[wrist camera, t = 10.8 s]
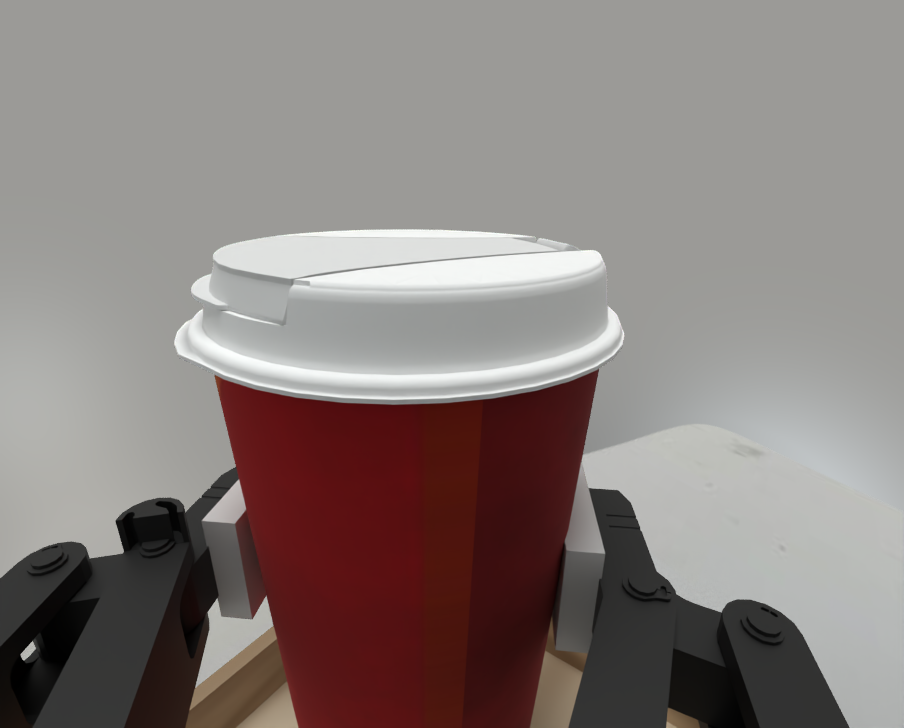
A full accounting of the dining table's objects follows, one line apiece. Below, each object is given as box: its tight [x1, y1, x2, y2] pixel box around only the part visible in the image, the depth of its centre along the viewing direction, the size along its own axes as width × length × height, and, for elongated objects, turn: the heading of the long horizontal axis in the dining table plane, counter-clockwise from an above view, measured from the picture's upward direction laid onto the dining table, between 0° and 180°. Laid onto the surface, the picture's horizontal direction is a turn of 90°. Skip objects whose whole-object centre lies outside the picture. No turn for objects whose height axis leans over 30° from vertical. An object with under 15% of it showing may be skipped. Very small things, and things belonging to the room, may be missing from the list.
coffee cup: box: [174, 230, 625, 728], centre depth 12 cm, size 8×8×15 cm
